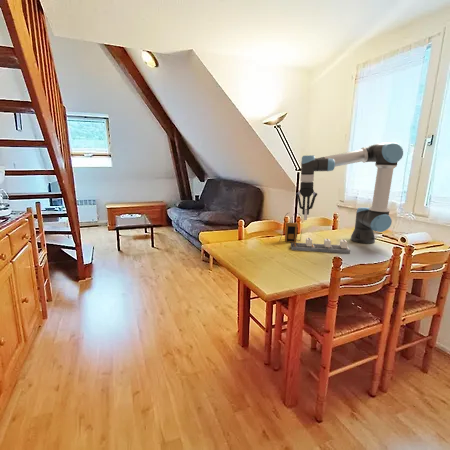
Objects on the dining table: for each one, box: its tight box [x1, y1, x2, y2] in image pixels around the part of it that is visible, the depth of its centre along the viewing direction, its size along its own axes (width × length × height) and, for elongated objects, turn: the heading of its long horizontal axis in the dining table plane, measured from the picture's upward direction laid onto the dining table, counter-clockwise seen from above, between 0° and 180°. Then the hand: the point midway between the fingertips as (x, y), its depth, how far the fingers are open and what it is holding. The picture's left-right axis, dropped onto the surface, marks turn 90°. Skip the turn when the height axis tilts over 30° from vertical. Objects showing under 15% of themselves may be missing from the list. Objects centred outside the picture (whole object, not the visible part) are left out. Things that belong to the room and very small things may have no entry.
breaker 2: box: [323, 238, 332, 248], centre depth 178 cm, size 3×5×4 cm, turn 171°
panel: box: [290, 242, 351, 254], centre depth 180 cm, size 34×10×2 cm, turn 81°
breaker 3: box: [339, 239, 348, 249], centre depth 177 cm, size 3×5×4 cm, turn 171°
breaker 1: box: [305, 237, 313, 246], centre depth 180 cm, size 3×5×4 cm, turn 171°
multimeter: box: [279, 212, 303, 243], centre depth 196 cm, size 15×10×20 cm
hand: (305, 219), depth 181 cm, fingers closed
